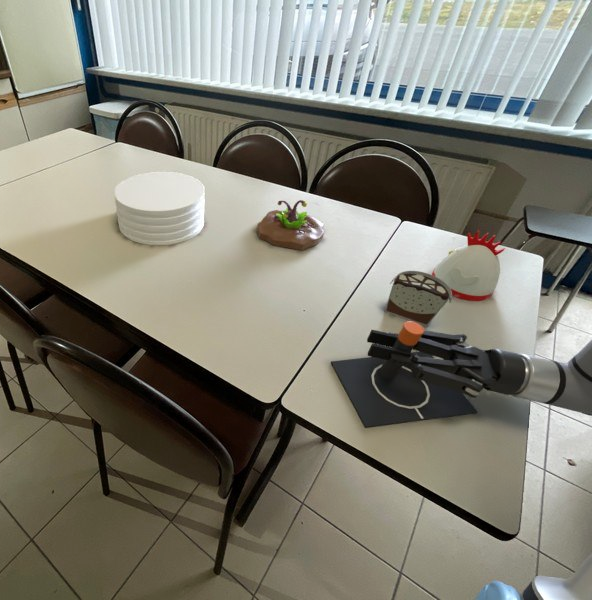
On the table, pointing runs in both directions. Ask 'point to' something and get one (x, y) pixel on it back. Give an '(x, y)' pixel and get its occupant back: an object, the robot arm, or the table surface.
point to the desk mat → (396, 394)
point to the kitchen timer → (471, 269)
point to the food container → (417, 296)
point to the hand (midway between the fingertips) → (370, 342)
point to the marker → (402, 347)
